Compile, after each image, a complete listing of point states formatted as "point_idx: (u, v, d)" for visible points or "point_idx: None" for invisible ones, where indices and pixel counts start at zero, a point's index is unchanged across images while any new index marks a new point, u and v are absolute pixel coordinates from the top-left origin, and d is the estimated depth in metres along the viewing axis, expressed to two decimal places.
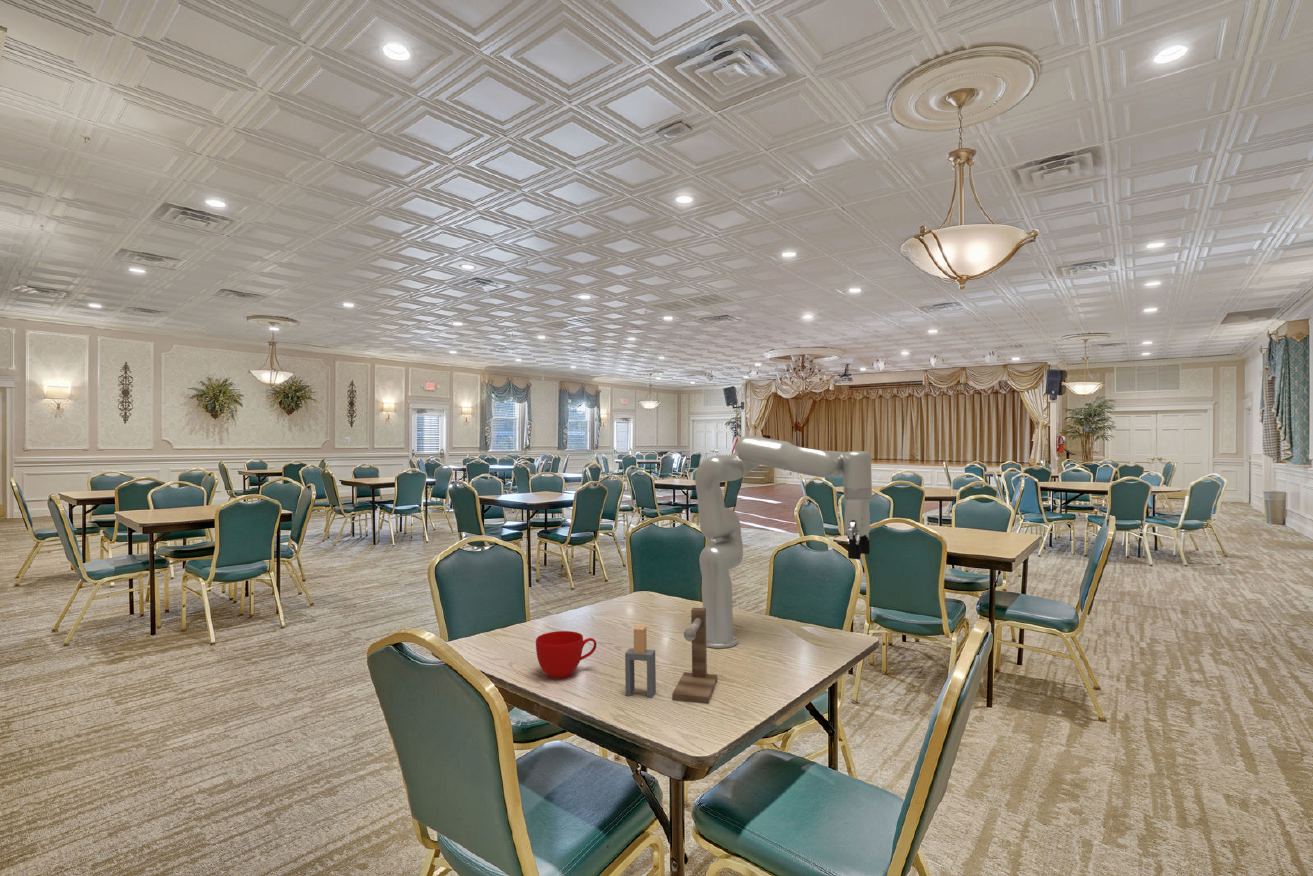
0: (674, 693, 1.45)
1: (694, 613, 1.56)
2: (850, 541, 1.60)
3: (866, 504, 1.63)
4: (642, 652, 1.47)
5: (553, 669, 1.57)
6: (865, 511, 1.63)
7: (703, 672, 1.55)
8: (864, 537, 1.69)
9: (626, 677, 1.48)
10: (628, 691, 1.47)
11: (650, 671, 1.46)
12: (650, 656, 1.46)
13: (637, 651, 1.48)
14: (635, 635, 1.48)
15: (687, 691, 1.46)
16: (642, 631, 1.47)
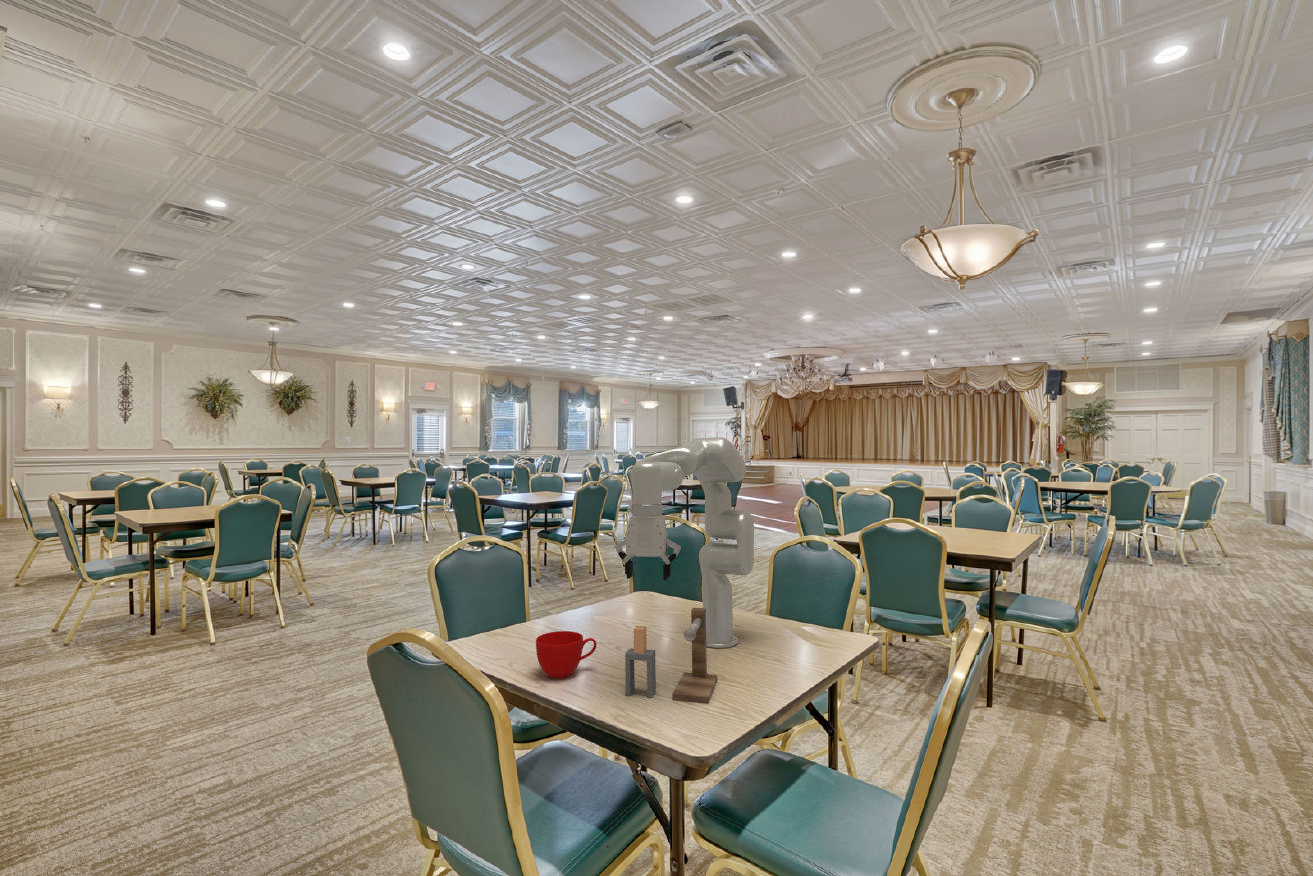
0: (674, 693, 1.45)
1: (694, 613, 1.56)
2: (672, 560, 1.48)
3: None
4: (642, 652, 1.47)
5: (553, 669, 1.57)
6: None
7: (703, 672, 1.55)
8: (630, 559, 1.52)
9: (626, 677, 1.48)
10: (628, 691, 1.47)
11: (650, 671, 1.46)
12: (650, 656, 1.46)
13: (637, 651, 1.48)
14: (635, 635, 1.48)
15: (687, 691, 1.46)
16: (642, 631, 1.47)
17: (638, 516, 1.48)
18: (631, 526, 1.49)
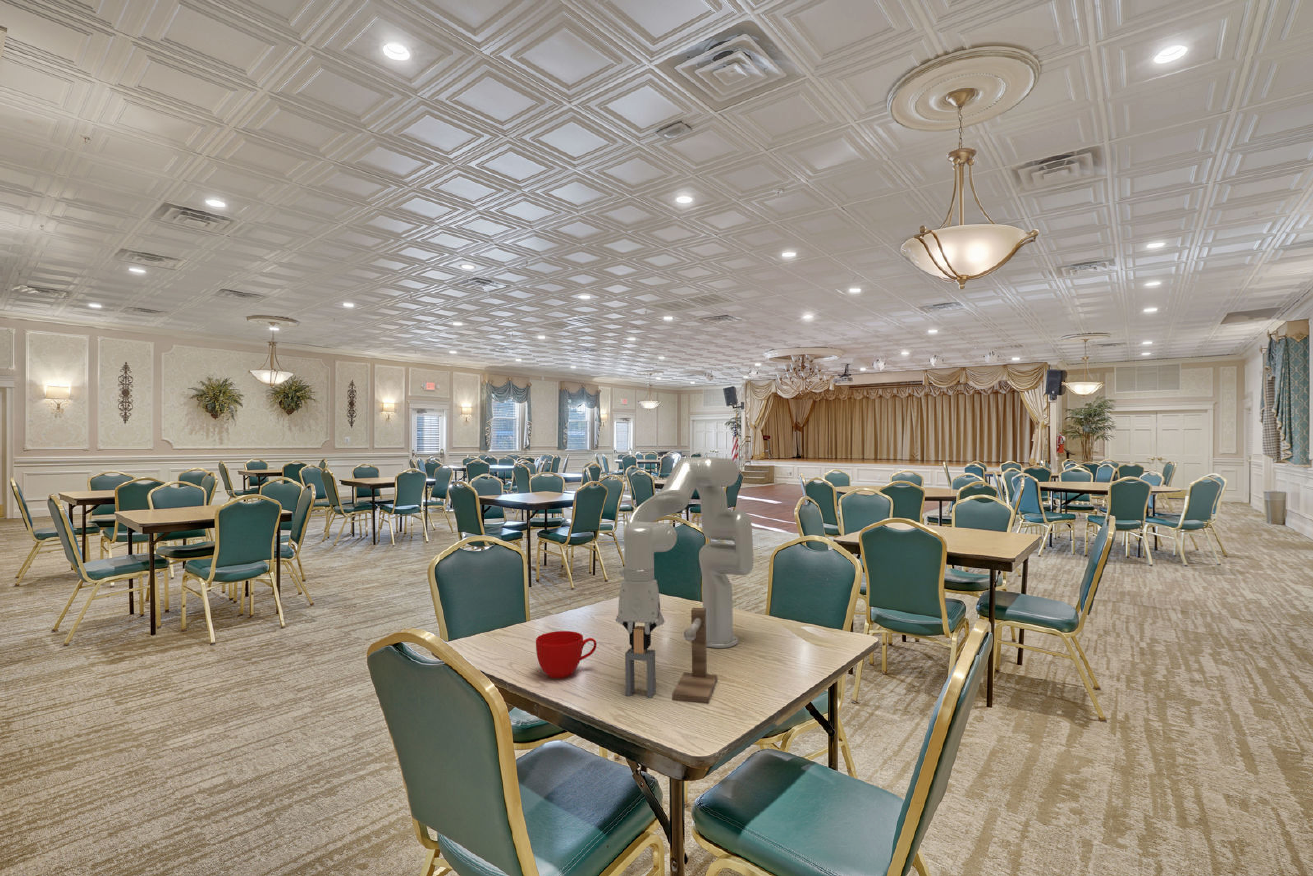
0: (674, 693, 1.45)
1: (694, 613, 1.56)
2: None
3: None
4: (642, 652, 1.47)
5: (553, 669, 1.57)
6: None
7: (703, 672, 1.55)
8: None
9: (626, 677, 1.47)
10: (627, 691, 1.47)
11: (650, 671, 1.46)
12: (650, 656, 1.46)
13: (637, 651, 1.48)
14: (635, 635, 1.48)
15: (687, 691, 1.46)
16: (642, 631, 1.47)
17: (630, 582, 1.46)
18: (623, 591, 1.48)
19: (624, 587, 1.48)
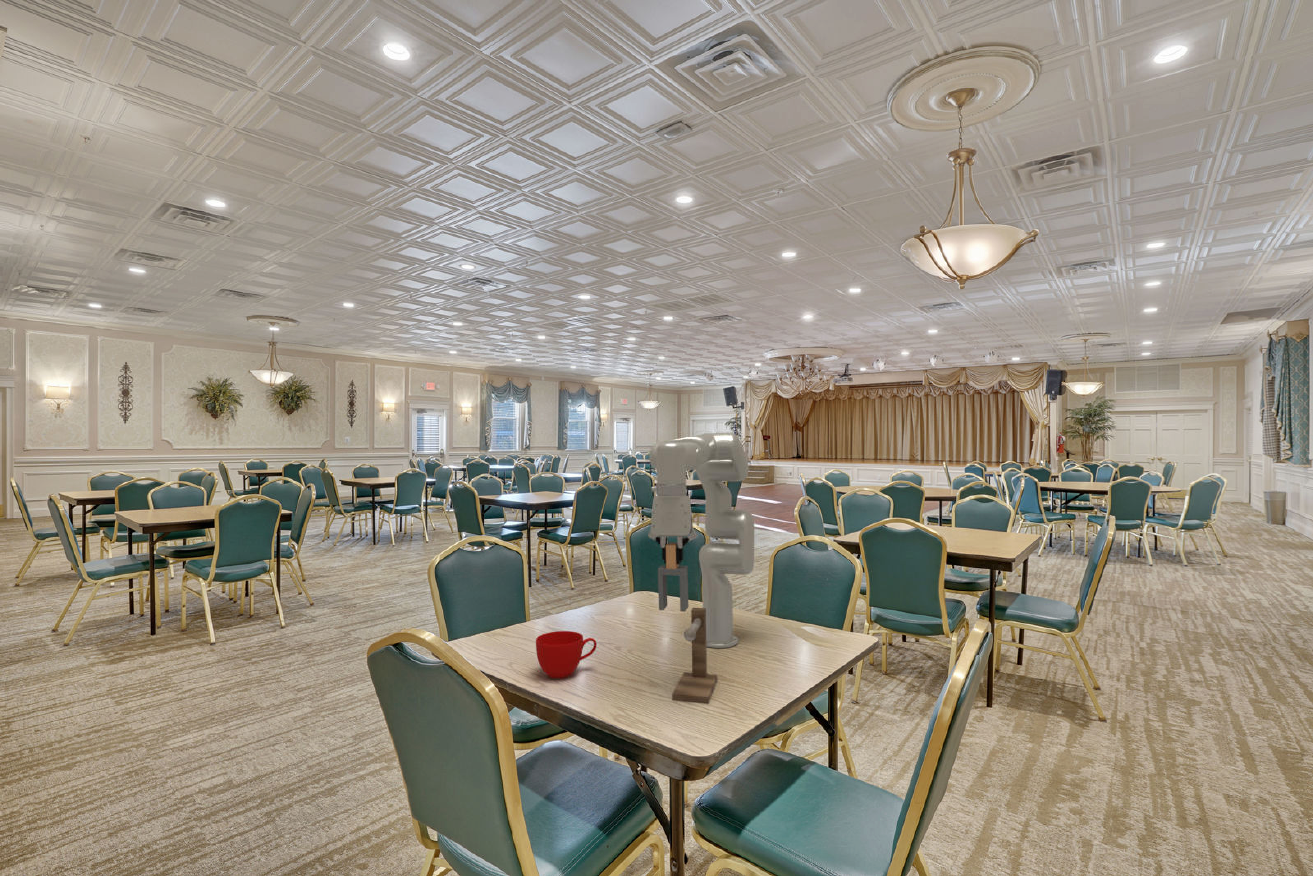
0: (674, 693, 1.45)
1: (694, 613, 1.56)
2: (685, 544, 1.49)
3: None
4: (674, 567, 1.48)
5: (553, 669, 1.57)
6: None
7: (703, 672, 1.55)
8: None
9: (659, 592, 1.49)
10: (661, 605, 1.49)
11: (683, 585, 1.47)
12: (683, 571, 1.47)
13: (669, 566, 1.49)
14: (667, 551, 1.49)
15: (687, 691, 1.46)
16: (674, 547, 1.48)
17: (663, 496, 1.48)
18: (656, 506, 1.49)
19: (657, 502, 1.49)
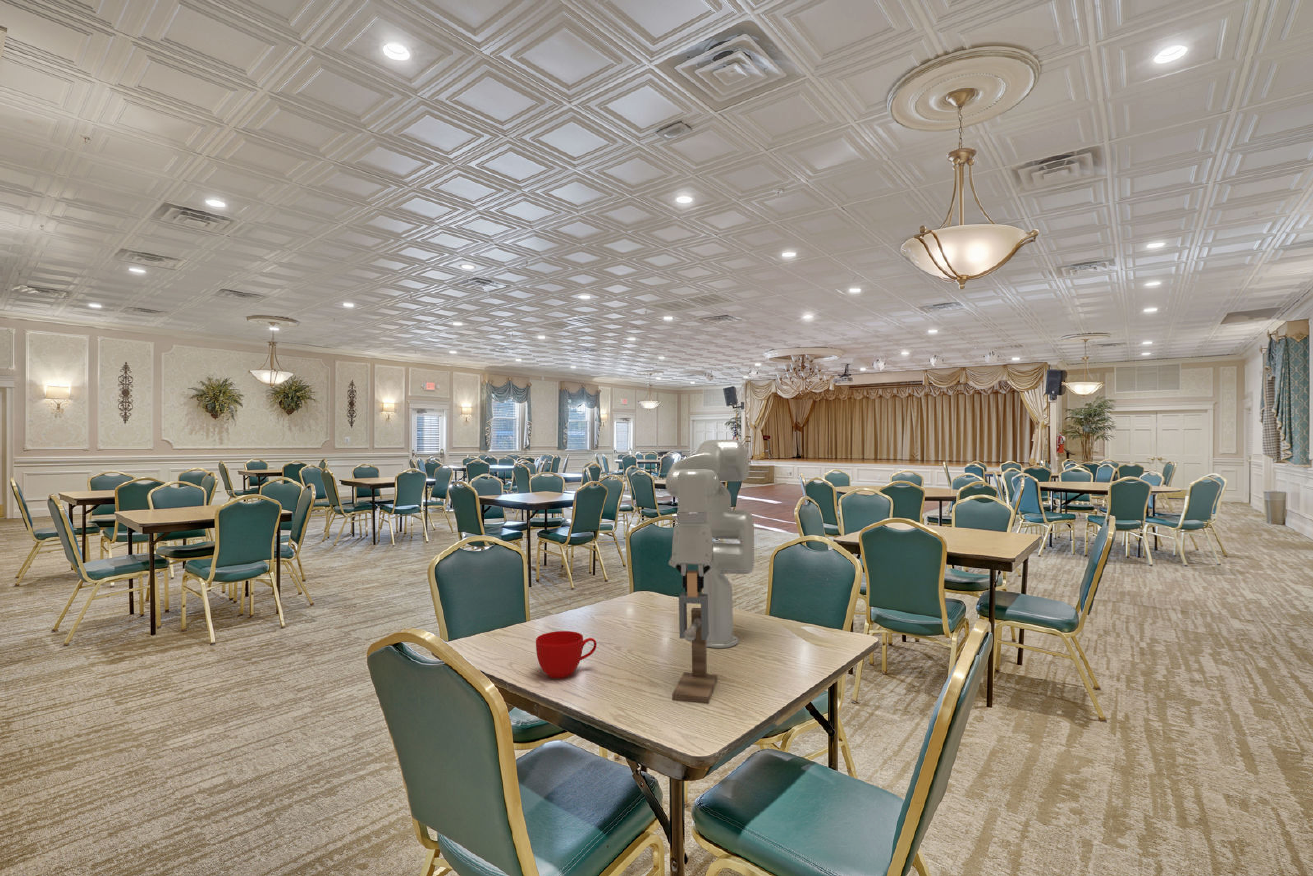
0: (674, 693, 1.45)
1: (694, 613, 1.56)
2: (706, 572, 1.49)
3: None
4: (696, 595, 1.48)
5: (553, 669, 1.57)
6: None
7: (703, 672, 1.55)
8: None
9: (680, 620, 1.49)
10: (682, 633, 1.49)
11: (704, 614, 1.47)
12: (704, 599, 1.47)
13: (691, 594, 1.49)
14: (688, 579, 1.49)
15: (687, 691, 1.46)
16: (695, 575, 1.48)
17: (684, 524, 1.48)
18: (677, 534, 1.49)
19: (678, 530, 1.49)
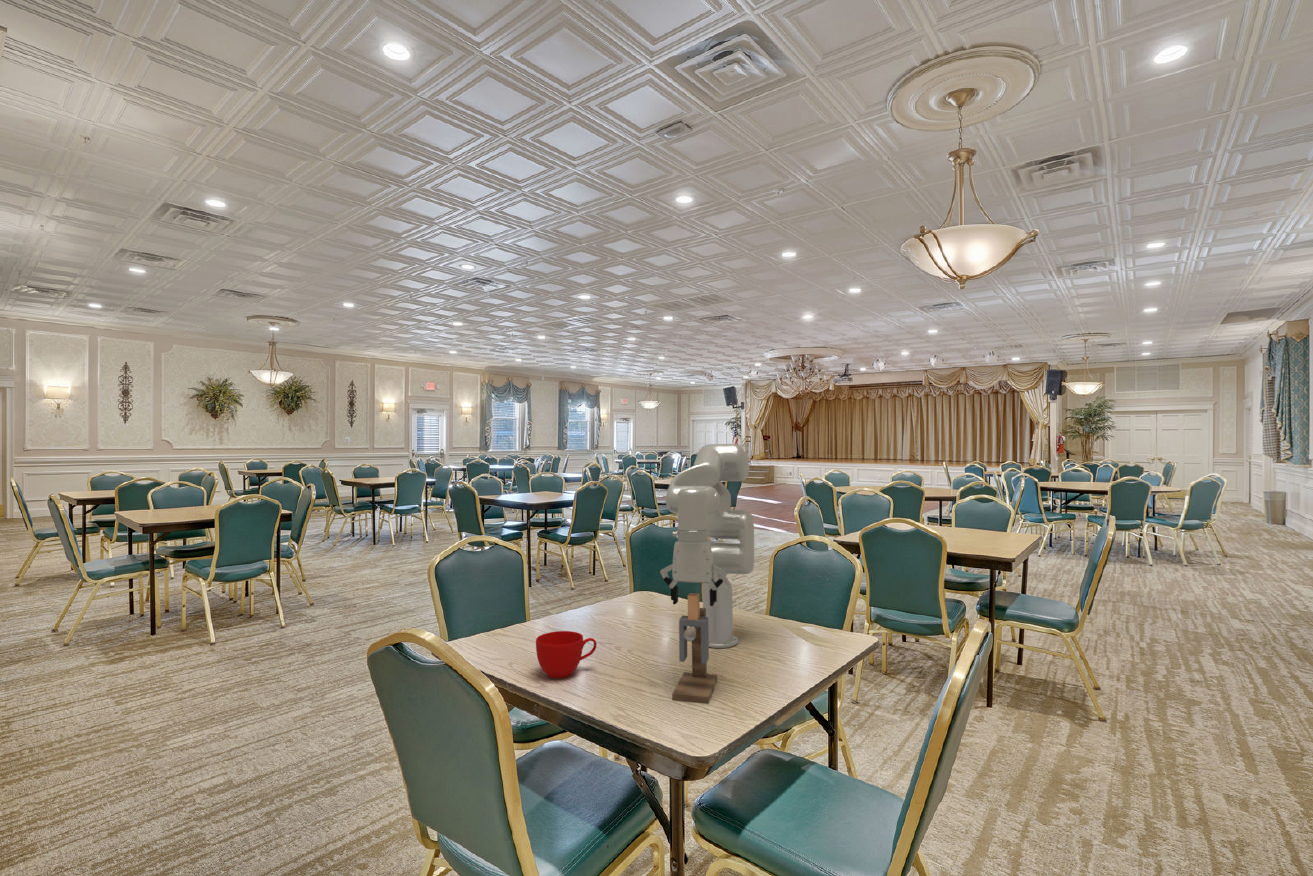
0: (674, 693, 1.45)
1: None
2: (719, 586, 1.48)
3: None
4: (696, 618, 1.48)
5: (553, 669, 1.57)
6: None
7: (703, 672, 1.55)
8: (675, 584, 1.52)
9: (680, 643, 1.49)
10: (681, 656, 1.48)
11: (704, 637, 1.47)
12: (704, 622, 1.47)
13: (691, 617, 1.49)
14: (689, 601, 1.49)
15: (687, 691, 1.46)
16: (696, 597, 1.48)
17: (685, 542, 1.48)
18: (677, 552, 1.49)
19: (678, 548, 1.49)
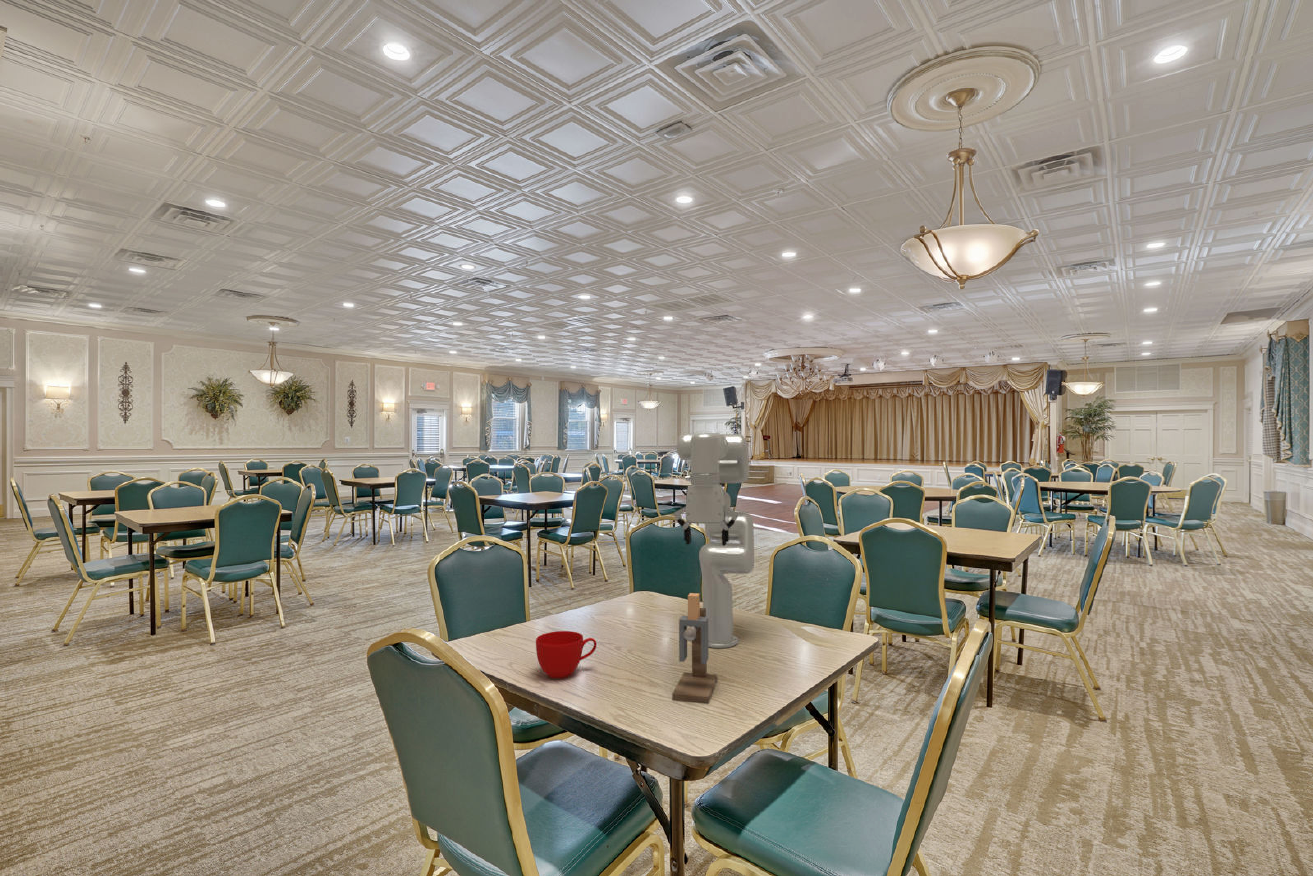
0: (674, 693, 1.45)
1: None
2: (730, 526, 1.55)
3: None
4: (696, 618, 1.48)
5: (553, 669, 1.57)
6: None
7: (703, 672, 1.55)
8: (688, 526, 1.58)
9: (680, 643, 1.49)
10: (681, 656, 1.48)
11: (704, 637, 1.47)
12: (704, 622, 1.47)
13: (691, 617, 1.49)
14: (689, 601, 1.49)
15: (687, 691, 1.46)
16: (696, 598, 1.48)
17: (697, 484, 1.54)
18: (690, 494, 1.55)
19: (691, 490, 1.55)
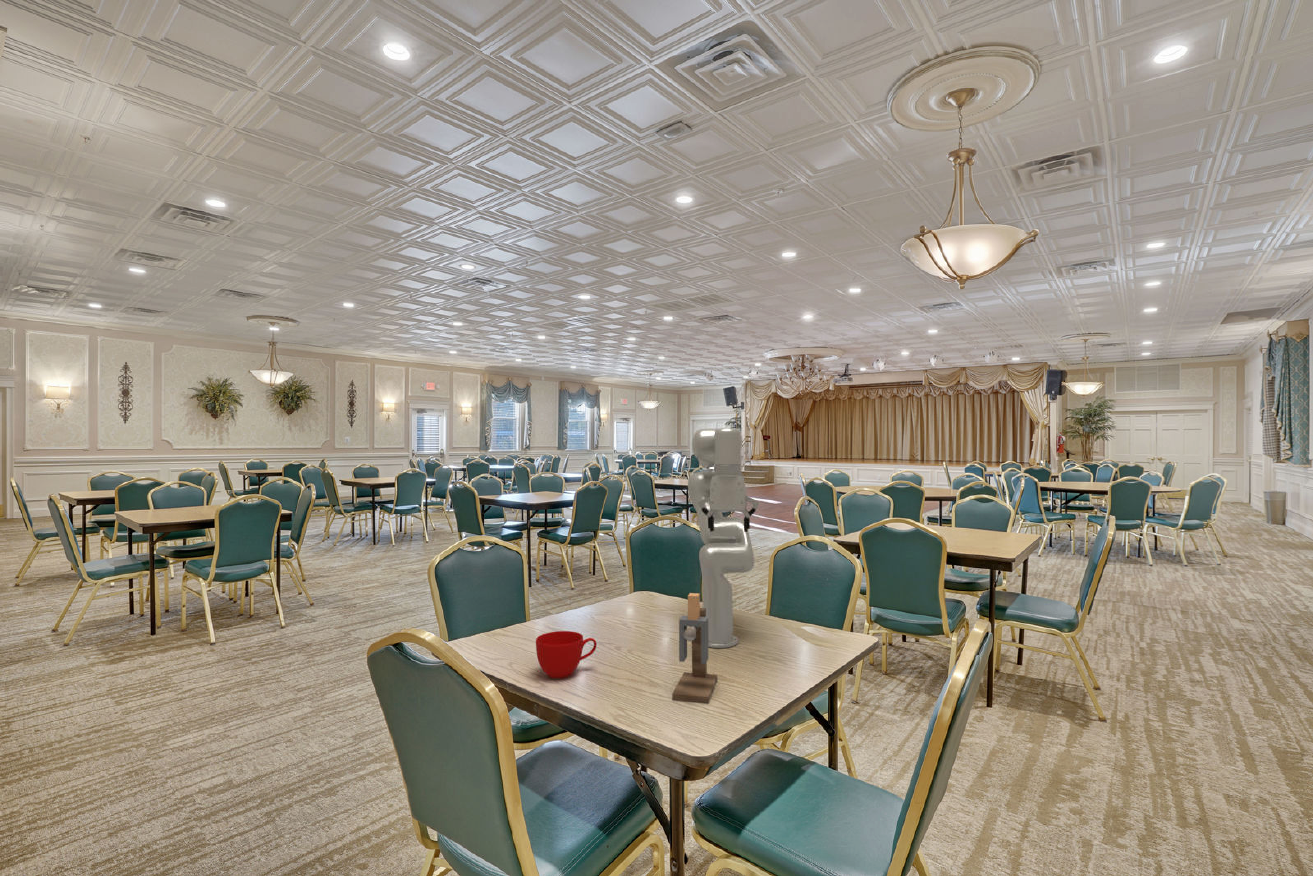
0: (674, 693, 1.45)
1: None
2: None
3: None
4: (696, 618, 1.48)
5: (553, 669, 1.57)
6: None
7: (703, 672, 1.55)
8: (712, 514, 1.69)
9: (680, 643, 1.49)
10: (681, 656, 1.48)
11: (704, 637, 1.47)
12: (704, 622, 1.47)
13: (691, 617, 1.49)
14: (689, 601, 1.49)
15: (687, 691, 1.46)
16: (696, 598, 1.48)
17: (721, 475, 1.65)
18: (714, 484, 1.66)
19: (715, 481, 1.66)
